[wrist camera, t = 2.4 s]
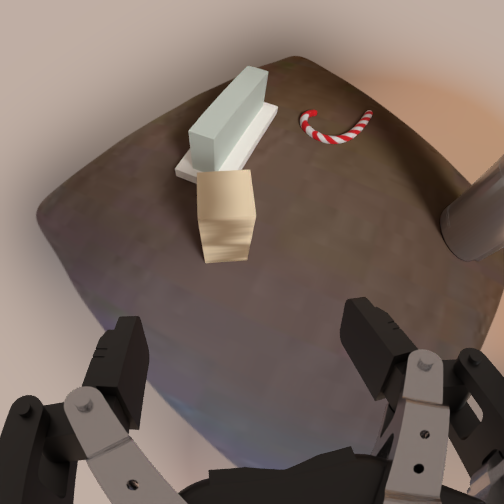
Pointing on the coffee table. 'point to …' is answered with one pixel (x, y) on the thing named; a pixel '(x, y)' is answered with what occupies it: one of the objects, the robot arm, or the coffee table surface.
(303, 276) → the coffee table surface
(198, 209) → the pine block
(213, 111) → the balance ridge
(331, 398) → the coffee table surface
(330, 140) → the candy cane
